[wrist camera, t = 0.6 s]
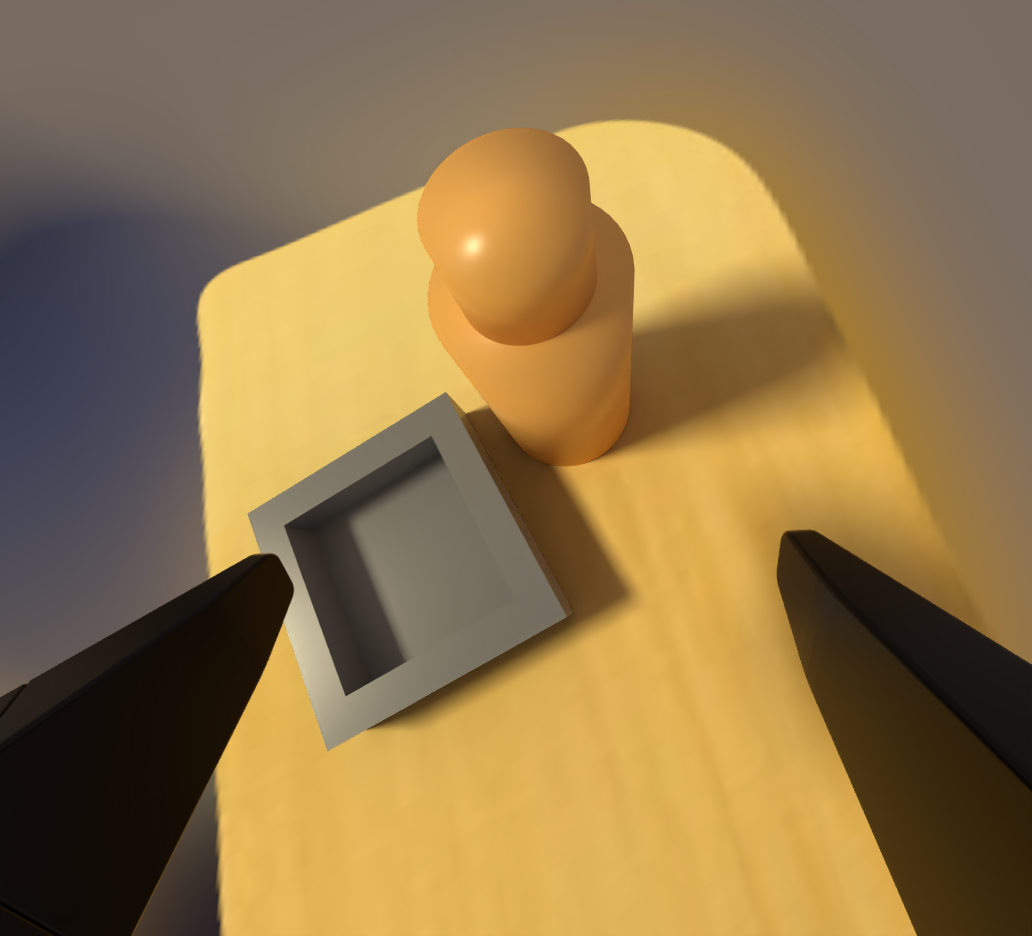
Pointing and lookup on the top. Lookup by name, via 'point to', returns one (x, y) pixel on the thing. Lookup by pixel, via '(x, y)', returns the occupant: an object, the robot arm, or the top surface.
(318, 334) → the top surface
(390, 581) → the socket
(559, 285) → the peach lotion bottle
